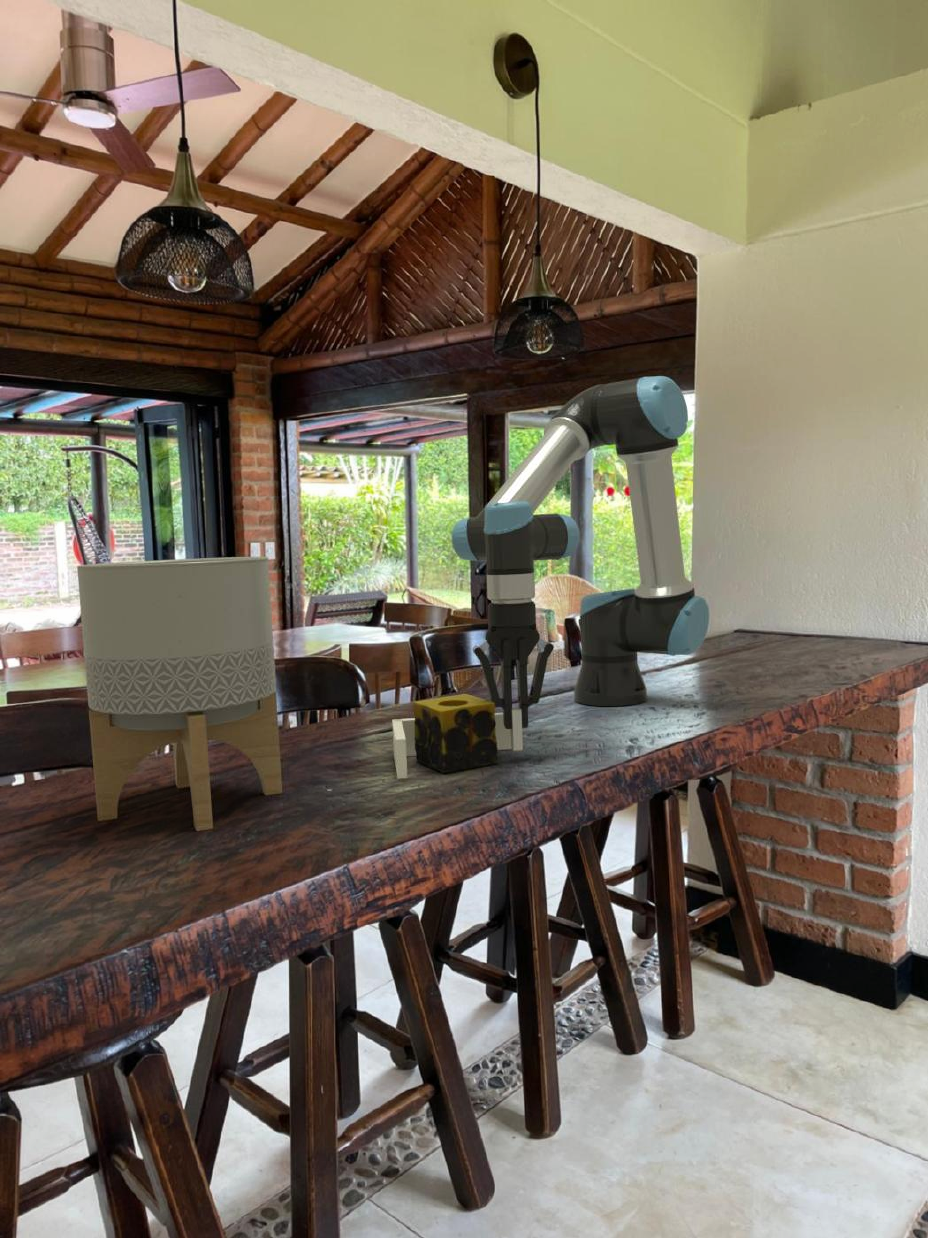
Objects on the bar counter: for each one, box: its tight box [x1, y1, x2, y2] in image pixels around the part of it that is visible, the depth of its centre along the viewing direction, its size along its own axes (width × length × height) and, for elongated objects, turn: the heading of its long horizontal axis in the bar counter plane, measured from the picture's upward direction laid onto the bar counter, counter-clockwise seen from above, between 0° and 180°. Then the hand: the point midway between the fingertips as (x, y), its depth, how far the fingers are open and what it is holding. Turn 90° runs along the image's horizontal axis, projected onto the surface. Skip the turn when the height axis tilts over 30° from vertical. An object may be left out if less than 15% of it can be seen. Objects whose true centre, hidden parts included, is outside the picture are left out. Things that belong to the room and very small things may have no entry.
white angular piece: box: [391, 712, 513, 780], centre depth 144 cm, size 20×15×6 cm
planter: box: [76, 556, 283, 832], centre depth 125 cm, size 25×25×34 cm
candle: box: [412, 693, 499, 774], centre depth 143 cm, size 10×10×10 cm
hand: (516, 748), depth 143 cm, fingers closed
